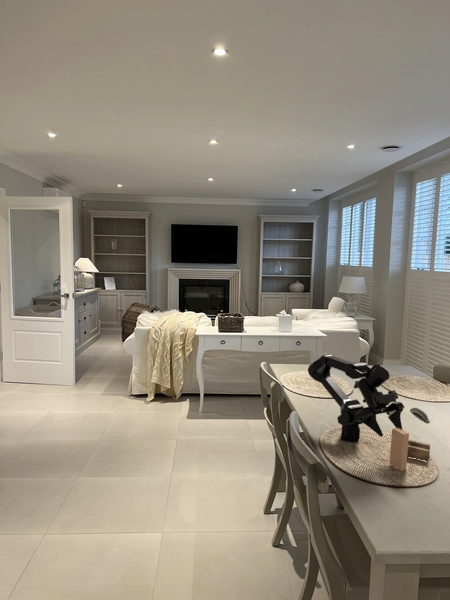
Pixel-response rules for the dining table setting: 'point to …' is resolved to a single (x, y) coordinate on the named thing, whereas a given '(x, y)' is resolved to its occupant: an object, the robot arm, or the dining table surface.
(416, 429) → the dining table surface
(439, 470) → the dining table surface
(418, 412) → the ceramic fragment
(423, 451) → the tan u-shaped channel
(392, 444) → the clay block
